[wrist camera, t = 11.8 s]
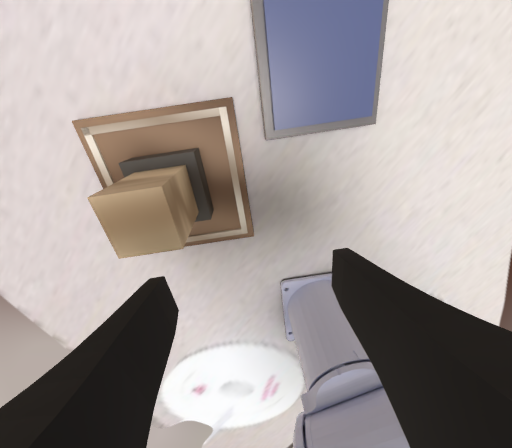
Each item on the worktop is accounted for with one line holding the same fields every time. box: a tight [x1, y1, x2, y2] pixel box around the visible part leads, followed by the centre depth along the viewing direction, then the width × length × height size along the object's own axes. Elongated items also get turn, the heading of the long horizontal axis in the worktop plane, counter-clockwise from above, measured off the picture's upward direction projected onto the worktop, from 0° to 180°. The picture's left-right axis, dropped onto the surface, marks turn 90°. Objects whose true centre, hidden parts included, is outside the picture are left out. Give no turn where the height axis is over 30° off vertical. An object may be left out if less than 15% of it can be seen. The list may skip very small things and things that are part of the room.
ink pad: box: [251, 0, 389, 140], centre depth 14 cm, size 8×8×2 cm
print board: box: [72, 97, 254, 247], centre depth 17 cm, size 11×11×1 cm
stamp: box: [88, 148, 214, 259], centre depth 14 cm, size 5×5×7 cm
